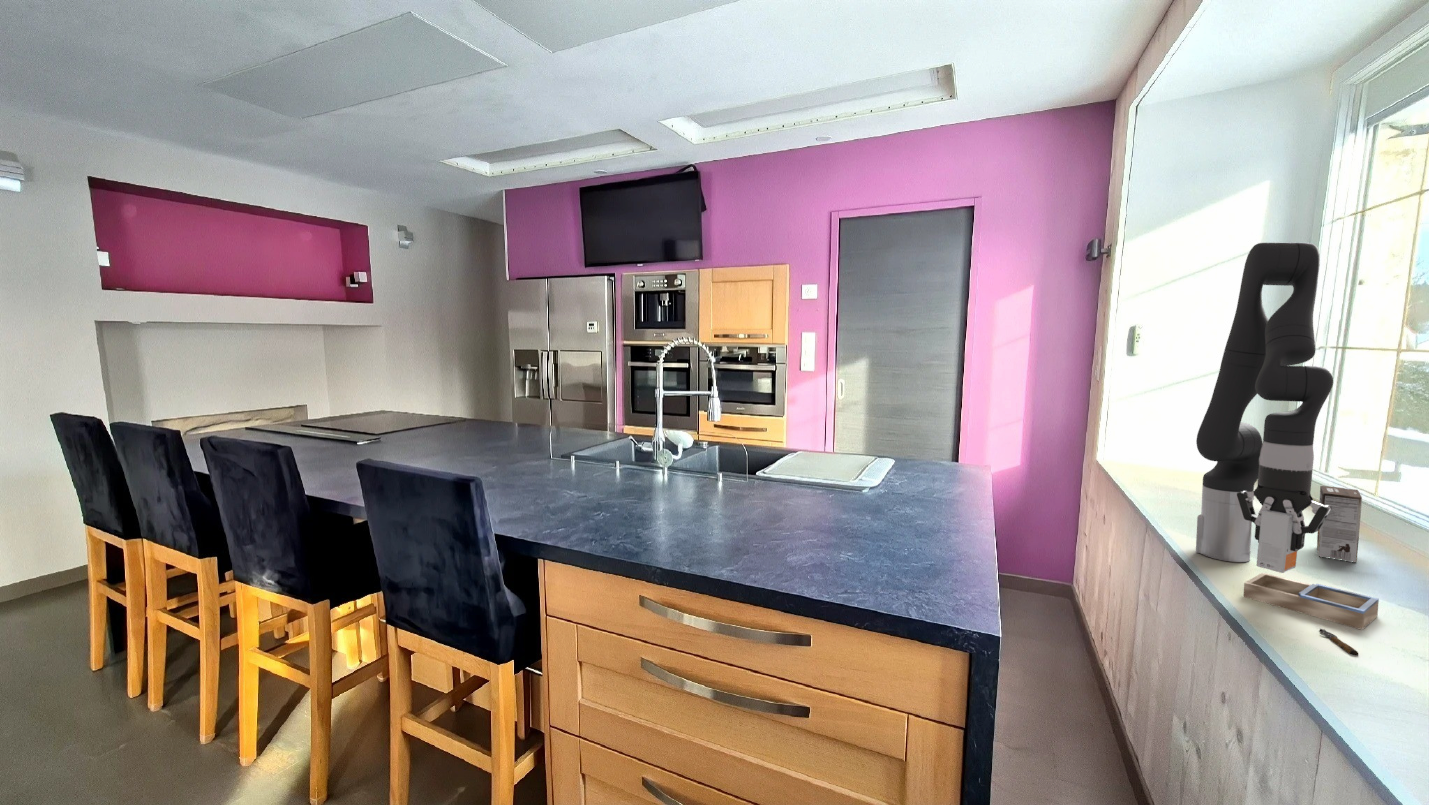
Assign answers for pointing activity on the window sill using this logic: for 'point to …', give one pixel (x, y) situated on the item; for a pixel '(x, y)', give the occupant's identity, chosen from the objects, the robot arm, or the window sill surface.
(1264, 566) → the skincare box
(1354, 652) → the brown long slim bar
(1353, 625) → the organiser
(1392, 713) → the window sill surface
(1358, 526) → the coffee box
